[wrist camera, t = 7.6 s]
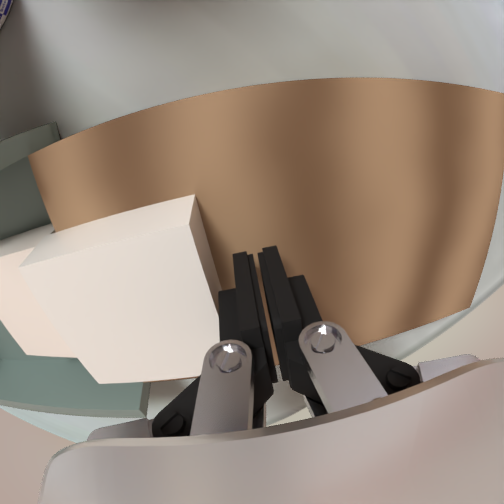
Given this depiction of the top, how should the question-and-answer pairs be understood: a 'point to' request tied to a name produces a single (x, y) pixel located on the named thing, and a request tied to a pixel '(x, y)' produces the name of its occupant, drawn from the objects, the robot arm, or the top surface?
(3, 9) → the energy drink
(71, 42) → the top surface
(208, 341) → the tile
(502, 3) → the top surface
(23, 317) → the tile
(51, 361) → the box
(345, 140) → the wooden cutting board
